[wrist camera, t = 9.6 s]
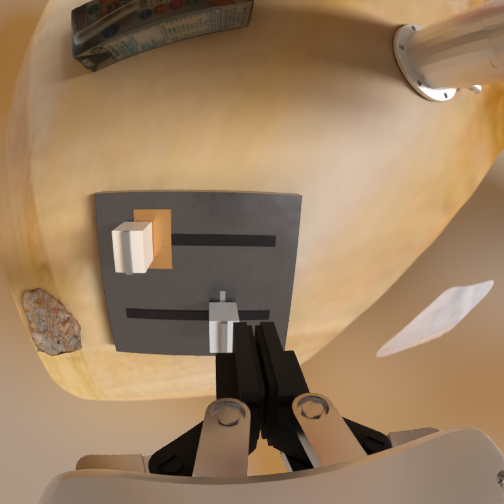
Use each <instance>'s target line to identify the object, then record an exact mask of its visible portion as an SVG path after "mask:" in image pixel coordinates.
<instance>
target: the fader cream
mask: <svg viewBox="0 0 504 504" xmlns="http://www.w3.org/2000/svg"><path fill="white" fill-rule="evenodd" d="M112 239H113V251H114V261H115V271H116V272H122V273H126V275H132V274H133V273H146V271H147V269H148V267H149V266H150V264H151V262H152V261H153V241H152V222H124V223H122V224H121V225H119V226H118V227H117V228H115V229H114V230H112Z"/></svg>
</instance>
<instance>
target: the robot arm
mask: <svg viewBox="0 0 504 504" xmlns="http://www.w3.org/2000/svg"><path fill="white" fill-rule="evenodd" d="M393 47H394V53H395V57H396V60H397V63H398V65H399V67H400V69H401V71H402V73H403V75H404V76H405V78H406V79H407V81H408V82H409V83H410V84H411V86H412V87H413V88H414V89H415V90H416V91H417V92H418V93H420V94H421V95H422V96H423V97H425V98H427V99H429V100H431V101H435V102H443V101H447V100H450V99H451V98H452V97H453V96H454V94H455V93H456V90H457V88H468V89H469V90H471V91H472V92H474V93H476V94H478V93H480V91H481V86H480V85H485V84H493V83H503V82H504V0H494V1H491V2H488V3H485V4H482V5H479V6H476V7H473V8H471V9H468V10H465V11H463V12H460V13H458V14H455V15H453V16H450V17H448V18H445V19H443V20H441V21H438V22H436V23H434V24H432V25H429V26H427V27H423V26H420V25H416V24H407V25H404V26H403V27H401V28H399V29H398V30H397V32H396V34H395V36H394V41H393ZM216 397H217V400H216V401H214V402H212V403H211V404H210V405H209V406H208V407H207V410H206V413H205V417H204V420H203V421H202V422H201V423H199V424H198V425H196V426H195V427H194V428H192V429H191V430H189V431H187V432H186V433H184V434H183V435H182V436H180V437H179V438H177V439H175V440H174V441H172V442H171V443H169V444H168V445H166V446H165V447H163V448H161V449H160V450H158V451H157V452H155V453H154V454H153V455H152V456H142V454H131V455H86V456H84V457H82V458H80V460H79V461H78V462H77V465H76V470H74V471H69V472H65V473H62V474H59V475H57V476H55V477H54V478H53V479H52V480H51V481H50V482H49V484H48V485H47V487H46V488H45V490H44V492H43V495H42V497H41V499H40V502H39V504H504V455H503V453H502V452H501V451H500V449H499V448H498V447H497V446H496V444H495V443H494V442H493V441H492V440H491V439H490V438H489V437H488V436H487V435H486V434H485V433H484V432H482V431H481V430H479V429H476V428H470V427H468V428H467V427H462V428H452V429H447V430H442V431H439V430H437V429H435V428H421V429H414V430H407V431H399V432H390V433H389V434H388V435H384V434H383V433H381V432H378V431H375V430H373V429H371V428H368V427H365V426H363V425H360V424H358V423H356V422H353V421H351V420H348V419H346V418H344V417H341V416H340V414H339V412H338V411H337V409H336V408H335V406H334V405H333V403H332V402H331V401H330V400H329V399H328V398H327V397H325V396H324V395H321V394H318V393H310V392H309V389H308V387H307V384H306V382H305V379H304V376H303V374H302V371H301V368H300V366H299V363H298V360H297V358H296V355H295V353H294V351H293V350H292V351H283V348H282V345H281V342H280V339H279V336H278V333H277V330H276V327H275V324H274V322H273V321H271V322H260V325H255V332H254V334H253V329H252V325H247V322H233V344H232V353H216ZM260 430H261V436H262V439H267V442H268V446H273V447H274V448H276V449H278V450H279V451H280V454H281V458H282V460H283V462H284V465H285V467H286V469H287V471H288V472H287V473H279V474H270V475H260V476H247V467H248V455H249V454H250V453H252V452H253V451H254V450H255V449H256V445H257V440H258V439H259V433H260Z"/></svg>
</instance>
